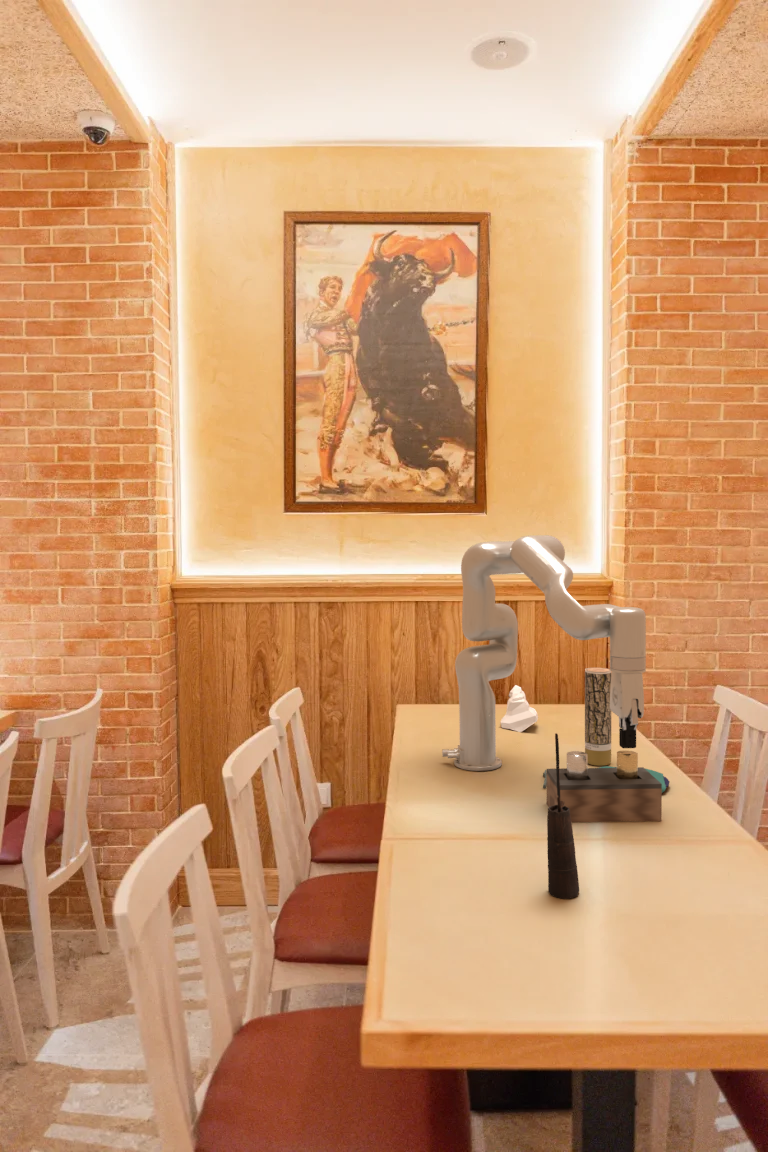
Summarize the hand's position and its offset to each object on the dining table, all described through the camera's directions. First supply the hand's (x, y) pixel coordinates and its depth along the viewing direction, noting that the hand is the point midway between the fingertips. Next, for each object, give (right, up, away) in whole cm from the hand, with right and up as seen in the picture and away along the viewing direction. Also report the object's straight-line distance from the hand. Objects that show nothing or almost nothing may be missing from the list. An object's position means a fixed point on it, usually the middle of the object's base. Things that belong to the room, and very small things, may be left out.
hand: (627, 747), depth 176 cm
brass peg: (0, -9, +1) cm, 9 cm away
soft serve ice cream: (-11, -11, +78) cm, 79 cm away
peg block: (-5, -14, +1) cm, 15 cm away
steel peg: (-11, -10, +1) cm, 15 cm away
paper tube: (+4, -13, +38) cm, 40 cm away
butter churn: (-22, -17, -37) cm, 46 cm away
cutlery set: (+1, -14, +21) cm, 25 cm away
